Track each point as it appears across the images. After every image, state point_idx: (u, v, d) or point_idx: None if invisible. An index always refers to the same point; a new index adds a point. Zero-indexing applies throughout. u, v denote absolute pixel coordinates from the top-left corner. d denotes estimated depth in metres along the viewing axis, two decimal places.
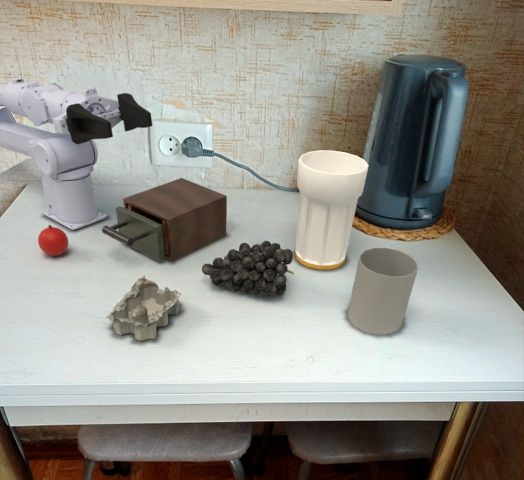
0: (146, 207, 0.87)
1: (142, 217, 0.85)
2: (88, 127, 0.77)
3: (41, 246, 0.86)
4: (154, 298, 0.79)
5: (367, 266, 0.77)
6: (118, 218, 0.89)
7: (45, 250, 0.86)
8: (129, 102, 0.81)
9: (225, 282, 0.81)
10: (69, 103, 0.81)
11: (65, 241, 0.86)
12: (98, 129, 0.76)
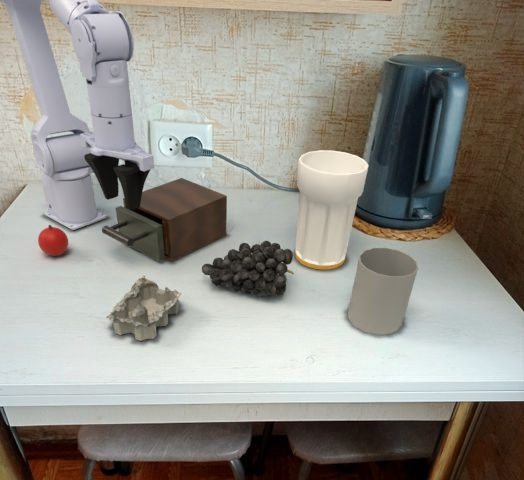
0: (146, 207, 0.87)
1: (142, 217, 0.85)
2: None
3: (41, 246, 0.86)
4: (154, 298, 0.79)
5: (367, 266, 0.77)
6: (118, 218, 0.89)
7: (45, 250, 0.86)
8: (121, 183, 0.76)
9: (225, 282, 0.81)
10: None
11: (65, 241, 0.86)
12: None
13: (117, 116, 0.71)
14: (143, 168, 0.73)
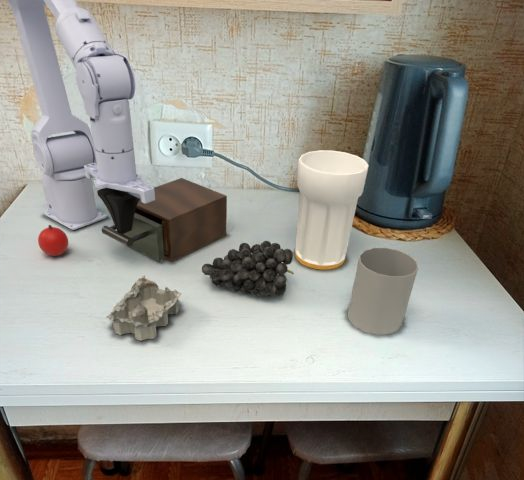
0: (146, 207, 0.87)
1: (142, 217, 0.85)
2: None
3: (41, 246, 0.86)
4: (154, 298, 0.79)
5: (367, 266, 0.77)
6: None
7: (45, 250, 0.86)
8: (113, 209, 0.80)
9: (225, 282, 0.81)
10: None
11: (65, 241, 0.86)
12: None
13: (119, 151, 0.74)
14: (144, 200, 0.76)
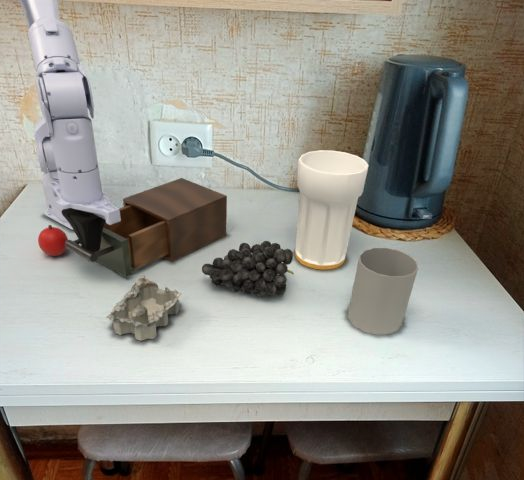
0: (146, 207, 0.87)
1: (107, 231, 0.81)
2: None
3: (41, 246, 0.86)
4: (154, 298, 0.79)
5: (367, 266, 0.77)
6: None
7: (45, 250, 0.86)
8: (78, 229, 0.77)
9: (225, 282, 0.81)
10: None
11: (65, 241, 0.86)
12: None
13: (75, 171, 0.70)
14: (109, 222, 0.73)
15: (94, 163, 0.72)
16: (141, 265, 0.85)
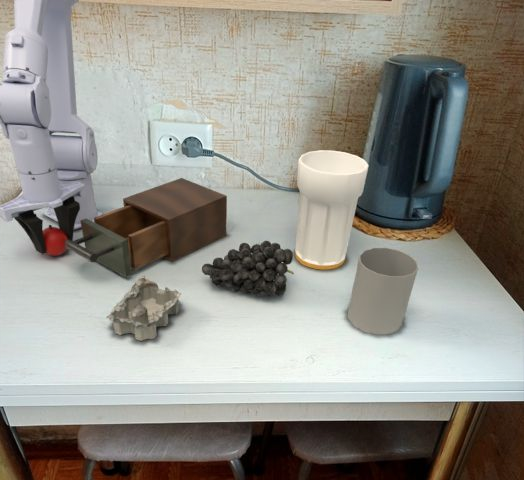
0: (146, 207, 0.87)
1: (107, 231, 0.81)
2: None
3: None
4: (154, 298, 0.79)
5: (367, 266, 0.77)
6: (83, 231, 0.84)
7: None
8: (70, 220, 0.86)
9: (225, 282, 0.81)
10: (33, 185, 0.78)
11: (65, 241, 0.87)
12: (35, 240, 0.84)
13: (26, 172, 0.77)
14: (85, 193, 0.87)
15: (46, 167, 0.77)
16: (141, 265, 0.85)
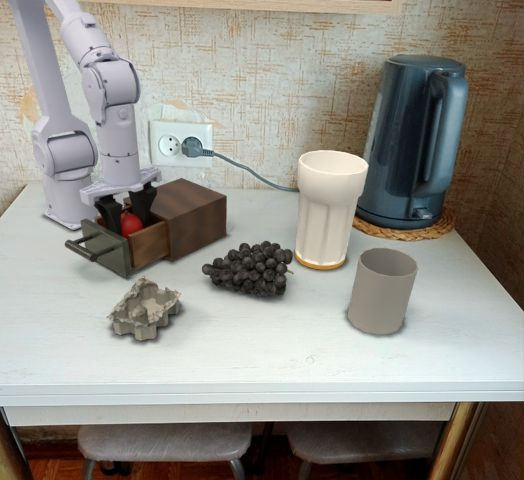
0: None
1: (107, 231, 0.81)
2: None
3: None
4: (154, 298, 0.79)
5: (367, 266, 0.77)
6: (83, 231, 0.84)
7: None
8: (146, 205, 0.84)
9: (225, 282, 0.81)
10: (116, 168, 0.76)
11: (141, 227, 0.84)
12: (111, 226, 0.82)
13: (125, 155, 0.75)
14: (161, 178, 0.85)
15: (137, 146, 0.77)
16: (141, 265, 0.85)
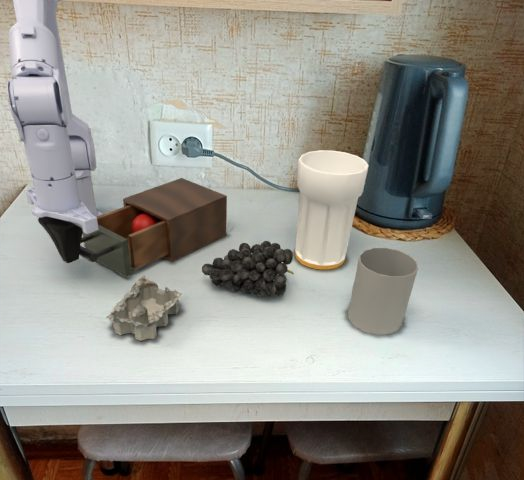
0: (146, 207, 0.87)
1: (107, 231, 0.81)
2: None
3: (145, 214, 0.88)
4: (154, 298, 0.79)
5: (367, 266, 0.77)
6: None
7: (146, 216, 0.87)
8: (56, 237, 0.75)
9: (225, 282, 0.81)
10: None
11: None
12: None
13: (47, 179, 0.68)
14: (86, 231, 0.70)
15: (68, 171, 0.69)
16: (141, 265, 0.85)
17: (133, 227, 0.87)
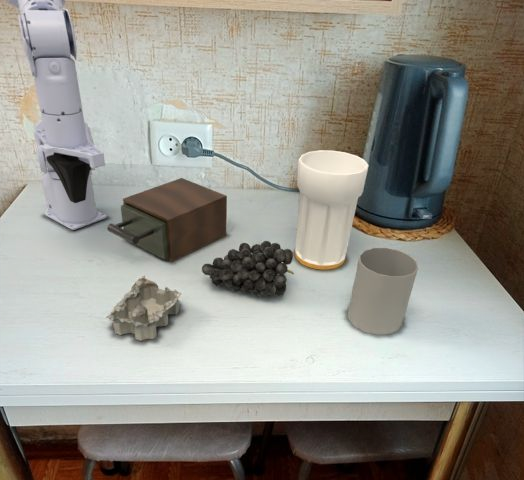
0: (146, 207, 0.87)
1: (147, 215, 0.86)
2: None
3: None
4: (154, 298, 0.79)
5: (367, 266, 0.77)
6: (123, 216, 0.89)
7: None
8: (63, 176, 0.77)
9: (225, 282, 0.81)
10: None
11: None
12: None
13: (58, 113, 0.71)
14: (93, 165, 0.73)
15: (78, 106, 0.72)
16: None
17: None
